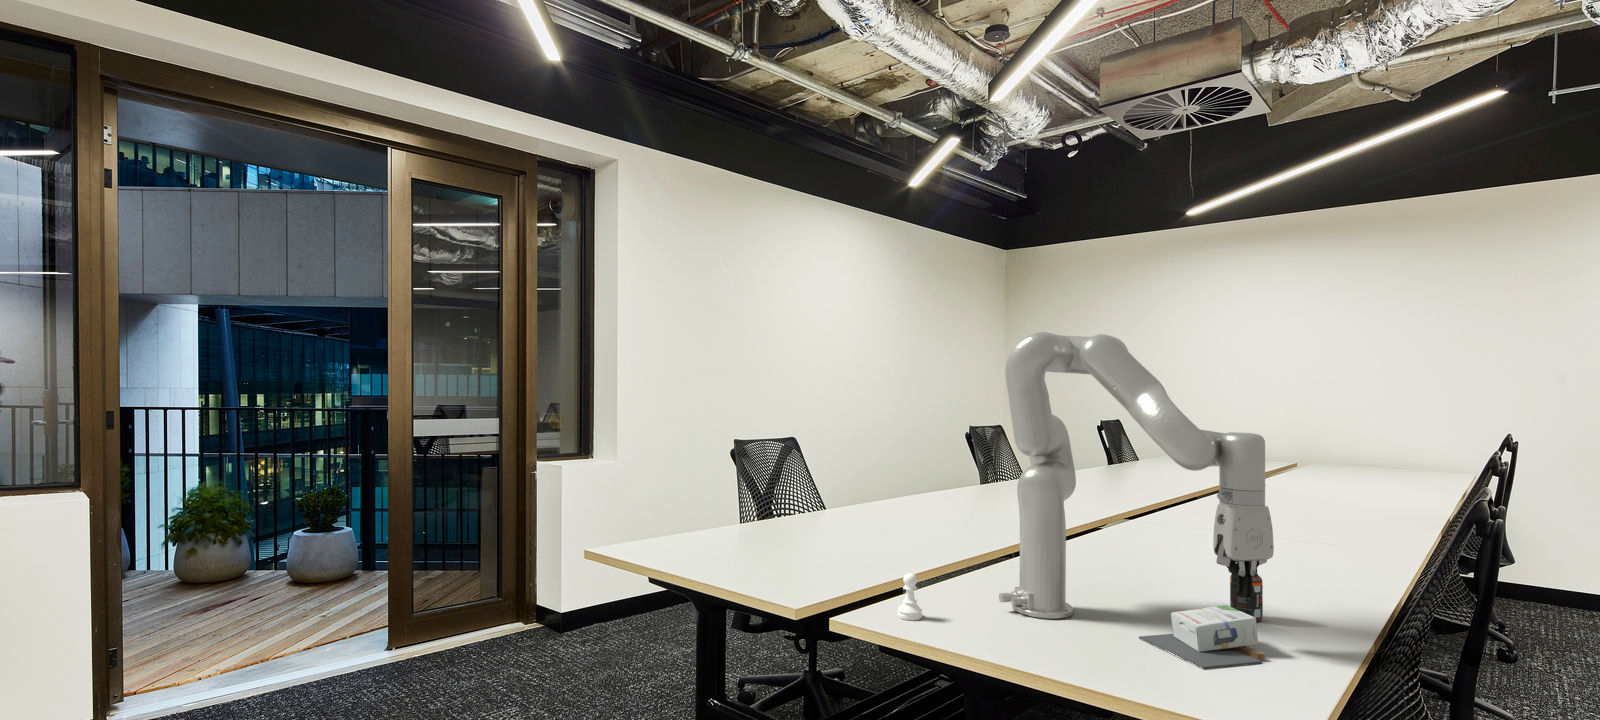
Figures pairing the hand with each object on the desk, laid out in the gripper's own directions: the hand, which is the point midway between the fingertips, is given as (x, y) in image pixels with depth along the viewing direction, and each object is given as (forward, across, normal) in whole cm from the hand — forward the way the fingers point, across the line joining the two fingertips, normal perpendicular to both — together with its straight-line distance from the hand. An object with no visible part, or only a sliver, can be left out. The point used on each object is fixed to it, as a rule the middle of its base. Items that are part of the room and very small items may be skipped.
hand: (1241, 595), depth 143 cm
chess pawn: (+10, -54, +30) cm, 63 cm away
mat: (+10, -10, 0) cm, 14 cm away
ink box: (+6, 0, 0) cm, 6 cm away
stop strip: (+10, -3, 0) cm, 10 cm away
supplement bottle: (+10, +15, +14) cm, 23 cm away
